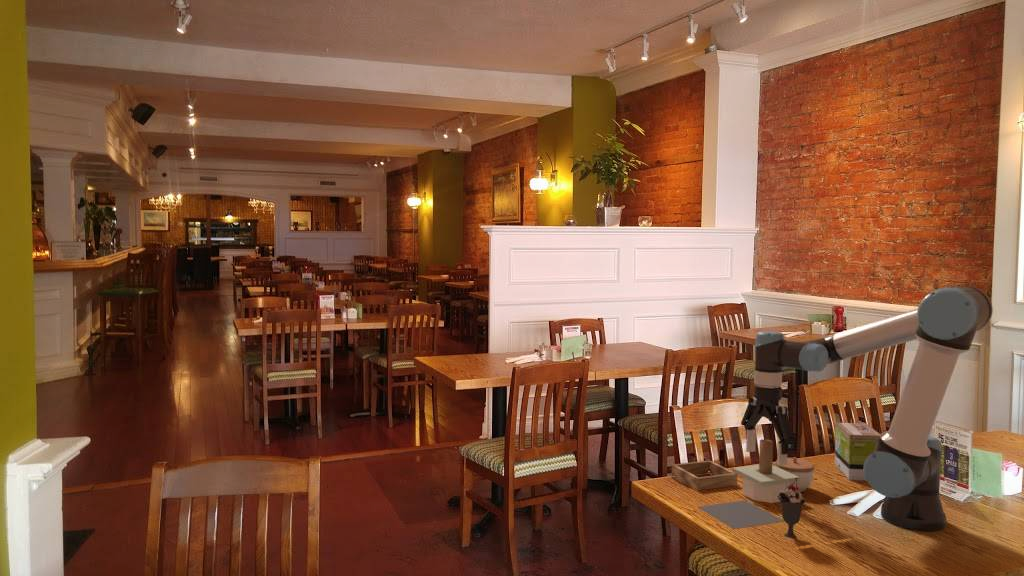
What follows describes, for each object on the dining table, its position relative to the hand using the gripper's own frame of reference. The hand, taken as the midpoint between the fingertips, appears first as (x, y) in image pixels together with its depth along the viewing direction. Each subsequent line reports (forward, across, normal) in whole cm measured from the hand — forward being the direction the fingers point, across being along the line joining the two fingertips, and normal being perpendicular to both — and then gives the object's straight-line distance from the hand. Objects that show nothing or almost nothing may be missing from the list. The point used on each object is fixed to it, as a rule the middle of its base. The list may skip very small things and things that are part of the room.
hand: (765, 458), depth 207 cm
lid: (+5, 0, 0) cm, 5 cm away
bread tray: (+11, +16, +10) cm, 22 cm away
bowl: (+11, 0, 0) cm, 11 cm away
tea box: (+12, +8, -42) cm, 44 cm away
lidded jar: (+12, +3, -13) cm, 18 cm away
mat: (+11, -10, +16) cm, 22 cm away
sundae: (+12, -26, +13) cm, 31 cm away
